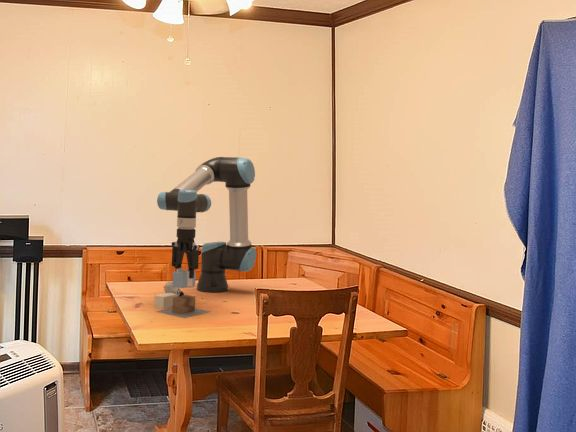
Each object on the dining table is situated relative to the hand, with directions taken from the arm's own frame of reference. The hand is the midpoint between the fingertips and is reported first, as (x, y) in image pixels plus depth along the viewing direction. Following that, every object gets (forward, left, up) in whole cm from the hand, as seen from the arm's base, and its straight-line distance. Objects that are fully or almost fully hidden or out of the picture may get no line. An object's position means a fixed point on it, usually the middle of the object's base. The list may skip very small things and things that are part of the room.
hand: (184, 285), depth 282 cm
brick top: (0, 0, 0) cm, 0 cm away
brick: (-2, -12, -12) cm, 17 cm away
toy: (-13, -19, -12) cm, 26 cm away
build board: (0, 0, -12) cm, 12 cm away
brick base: (0, 0, -11) cm, 11 cm away
